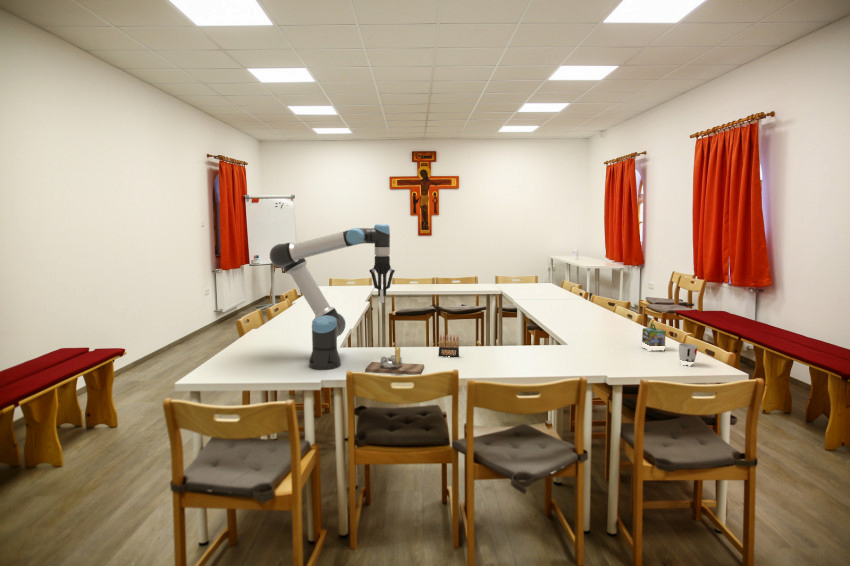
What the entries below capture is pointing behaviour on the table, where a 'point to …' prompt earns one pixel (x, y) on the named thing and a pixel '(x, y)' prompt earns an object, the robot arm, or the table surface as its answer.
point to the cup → (687, 352)
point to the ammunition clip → (449, 346)
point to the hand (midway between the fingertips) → (382, 302)
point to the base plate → (403, 369)
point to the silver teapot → (392, 360)
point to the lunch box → (653, 336)
